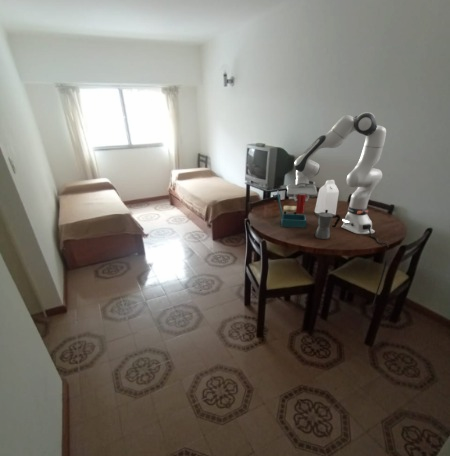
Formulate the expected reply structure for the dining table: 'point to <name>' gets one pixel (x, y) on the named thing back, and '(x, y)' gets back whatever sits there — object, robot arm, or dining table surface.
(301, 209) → the can
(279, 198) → the lid
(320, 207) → the milk
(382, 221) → the dining table surface
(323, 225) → the coffeepot
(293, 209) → the stool
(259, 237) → the dining table surface
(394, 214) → the dining table surface
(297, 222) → the teal open box
